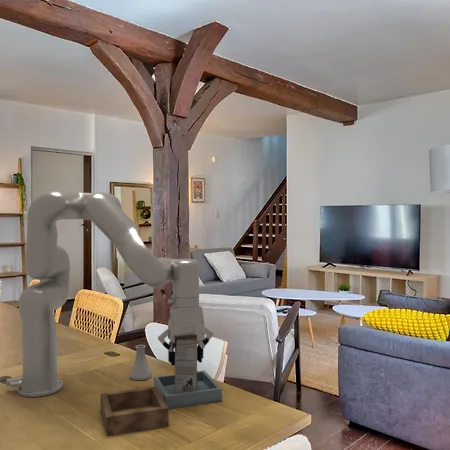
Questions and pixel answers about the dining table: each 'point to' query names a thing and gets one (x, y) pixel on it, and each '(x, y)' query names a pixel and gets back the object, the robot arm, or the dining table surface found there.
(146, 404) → the walnut tray
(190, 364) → the coffee box
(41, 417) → the dining table surface
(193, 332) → the robot arm
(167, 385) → the slate tray
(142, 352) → the flask
